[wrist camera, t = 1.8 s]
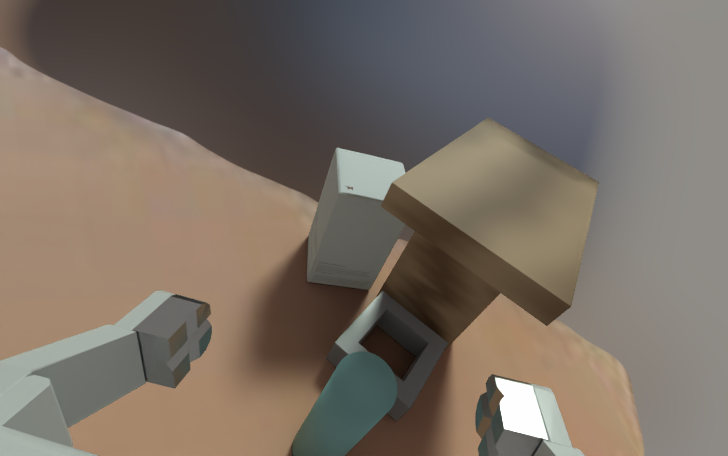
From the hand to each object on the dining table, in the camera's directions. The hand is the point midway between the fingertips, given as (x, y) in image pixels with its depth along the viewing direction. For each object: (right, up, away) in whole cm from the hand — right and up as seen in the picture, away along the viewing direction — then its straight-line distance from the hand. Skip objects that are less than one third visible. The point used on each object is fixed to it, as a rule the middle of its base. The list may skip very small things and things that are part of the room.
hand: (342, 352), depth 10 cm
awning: (+2, -9, +24) cm, 26 cm away
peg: (-3, -13, +17) cm, 22 cm away
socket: (+2, -9, +24) cm, 26 cm away
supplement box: (-2, 0, +31) cm, 31 cm away
